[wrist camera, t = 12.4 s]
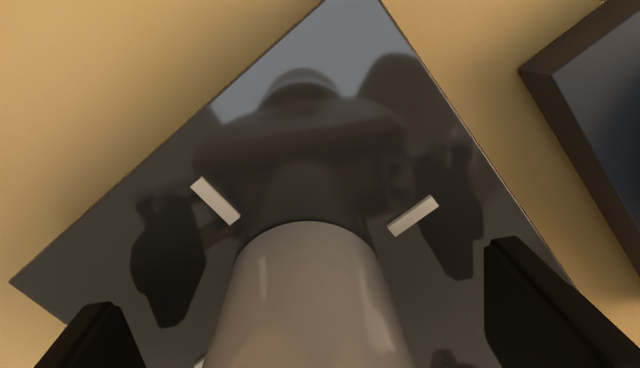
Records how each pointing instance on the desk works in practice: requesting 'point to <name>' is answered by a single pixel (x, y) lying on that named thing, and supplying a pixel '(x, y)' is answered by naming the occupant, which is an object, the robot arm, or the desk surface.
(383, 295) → the knob
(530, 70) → the control block
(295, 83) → the grey dial base plate
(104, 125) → the desk surface
